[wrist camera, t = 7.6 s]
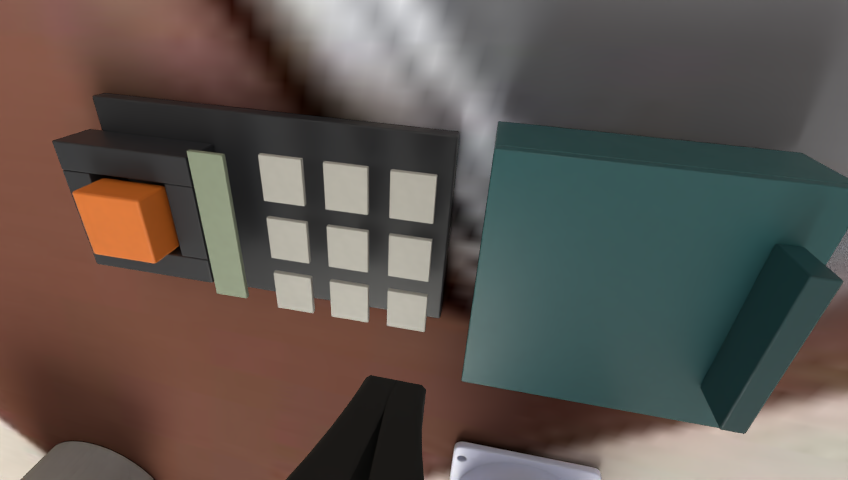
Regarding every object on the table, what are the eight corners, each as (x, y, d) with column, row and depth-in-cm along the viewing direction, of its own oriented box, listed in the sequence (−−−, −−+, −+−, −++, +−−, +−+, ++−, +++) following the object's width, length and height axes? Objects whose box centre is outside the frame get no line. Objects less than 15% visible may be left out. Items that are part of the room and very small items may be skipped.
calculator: (459, 131, 16) (451, 151, 14) (442, 309, 21) (433, 346, 19) (93, 91, 18) (37, 103, 16) (144, 261, 23) (105, 289, 21)
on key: (165, 185, 18) (136, 200, 16) (180, 245, 19) (155, 264, 18) (103, 176, 18) (70, 191, 17) (122, 236, 19) (93, 254, 18)
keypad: (425, 329, 18) (424, 332, 18) (220, 294, 19) (217, 297, 19) (437, 174, 15) (436, 176, 15) (188, 143, 16) (185, 145, 16)
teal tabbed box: (695, 365, 19) (748, 475, 15) (468, 328, 21) (456, 418, 16) (802, 152, 14) (926, 220, 10) (498, 120, 16) (491, 169, 11)
